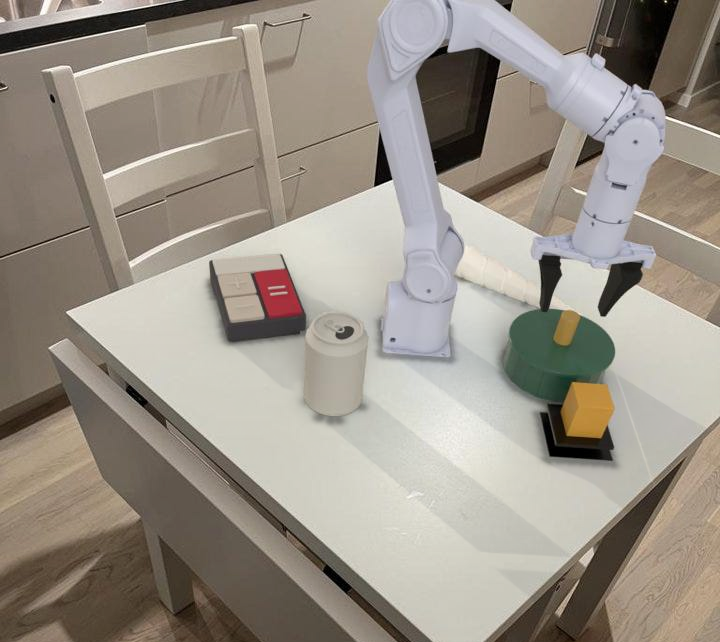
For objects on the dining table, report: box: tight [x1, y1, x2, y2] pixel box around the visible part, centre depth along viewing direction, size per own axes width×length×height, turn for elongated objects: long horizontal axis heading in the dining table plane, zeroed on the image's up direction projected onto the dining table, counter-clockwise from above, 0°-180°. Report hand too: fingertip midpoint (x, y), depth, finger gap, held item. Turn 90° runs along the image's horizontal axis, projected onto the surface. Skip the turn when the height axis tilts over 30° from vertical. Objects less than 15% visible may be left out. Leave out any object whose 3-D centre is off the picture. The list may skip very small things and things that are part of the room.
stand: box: [539, 403, 615, 462], centre depth 93 cm, size 8×8×2 cm
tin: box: [502, 340, 607, 403], centre depth 100 cm, size 13×13×5 cm
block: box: [561, 382, 616, 438], centre depth 90 cm, size 4×4×5 cm
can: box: [303, 310, 369, 417], centre depth 90 cm, size 8×8×12 cm
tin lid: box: [508, 308, 616, 378], centre depth 97 cm, size 14×14×5 cm
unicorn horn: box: [454, 245, 584, 316], centre depth 111 cm, size 5×24×5 cm, turn 54°
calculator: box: [208, 253, 307, 343], centre depth 105 cm, size 11×4×15 cm
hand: (572, 309), depth 94 cm, fingers open, 7 cm apart
